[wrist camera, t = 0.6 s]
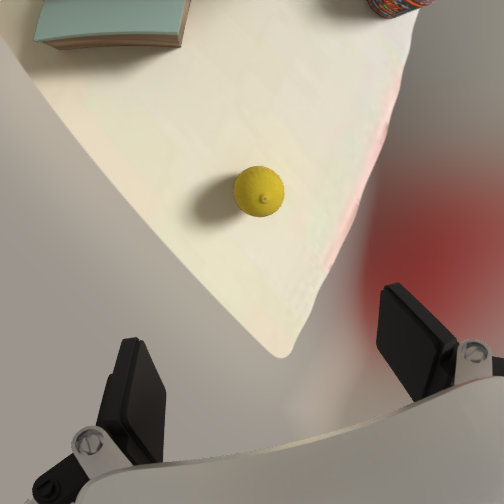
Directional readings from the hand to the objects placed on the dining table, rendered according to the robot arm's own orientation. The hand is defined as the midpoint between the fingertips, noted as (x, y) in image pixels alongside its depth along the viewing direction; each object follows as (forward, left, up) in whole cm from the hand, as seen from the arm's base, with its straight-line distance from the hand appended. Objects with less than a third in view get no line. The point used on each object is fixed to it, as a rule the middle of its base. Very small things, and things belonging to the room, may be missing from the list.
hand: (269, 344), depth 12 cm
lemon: (-1, +4, -29) cm, 29 cm away
